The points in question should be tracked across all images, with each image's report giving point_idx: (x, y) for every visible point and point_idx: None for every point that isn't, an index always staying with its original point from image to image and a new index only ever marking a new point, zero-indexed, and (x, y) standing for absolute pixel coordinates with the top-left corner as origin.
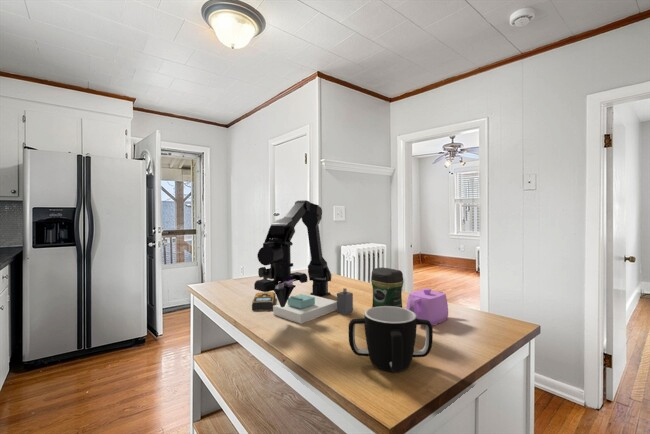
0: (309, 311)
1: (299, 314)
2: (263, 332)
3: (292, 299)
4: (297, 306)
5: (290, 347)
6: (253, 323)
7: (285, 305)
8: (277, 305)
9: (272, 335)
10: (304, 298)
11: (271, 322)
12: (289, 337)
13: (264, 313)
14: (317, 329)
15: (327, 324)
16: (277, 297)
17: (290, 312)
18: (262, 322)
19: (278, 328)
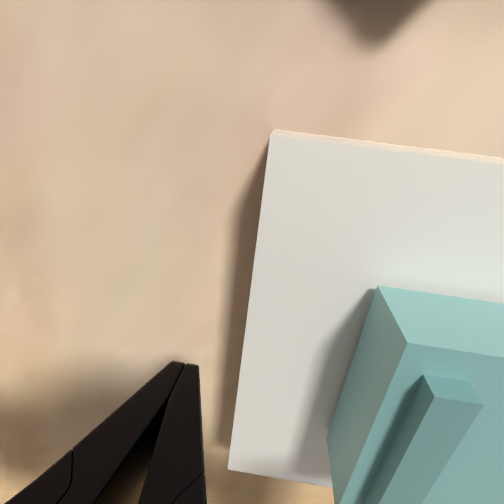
0: (318, 485)
1: (229, 459)
2: (4, 323)
3: (372, 421)
4: (338, 417)
5: (29, 478)
6: (14, 153)
7: (367, 256)
8: (319, 170)
9: (26, 379)
10: (474, 500)
11: (131, 257)
12: (77, 441)
13: (246, 4)
14: (228, 487)
15: (310, 498)
16: (69, 456)
17: (239, 383)
18: (81, 199)
19: (102, 353)
